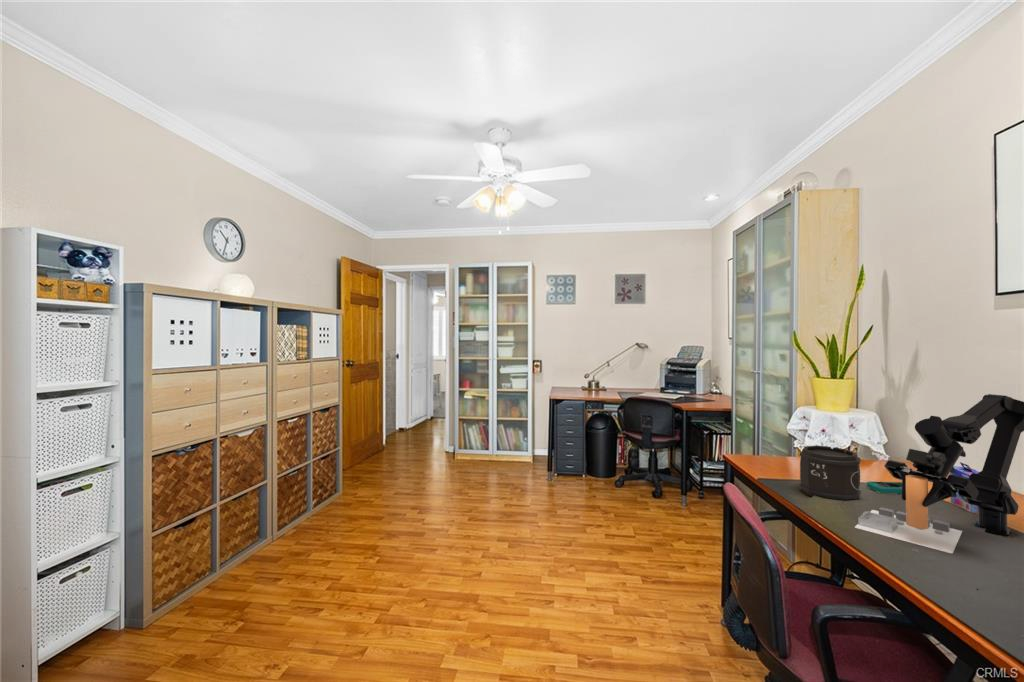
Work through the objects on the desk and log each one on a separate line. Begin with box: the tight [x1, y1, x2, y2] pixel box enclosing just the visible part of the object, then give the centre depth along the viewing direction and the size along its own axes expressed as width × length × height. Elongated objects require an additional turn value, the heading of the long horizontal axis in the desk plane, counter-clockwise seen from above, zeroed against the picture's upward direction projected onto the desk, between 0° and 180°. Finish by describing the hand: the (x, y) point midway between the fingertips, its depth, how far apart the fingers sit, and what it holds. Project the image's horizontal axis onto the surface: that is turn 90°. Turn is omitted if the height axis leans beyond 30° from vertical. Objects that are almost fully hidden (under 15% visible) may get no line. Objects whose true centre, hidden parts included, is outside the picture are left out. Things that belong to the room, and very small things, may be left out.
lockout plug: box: [905, 475, 929, 529], centre depth 117 cm, size 4×4×13 cm
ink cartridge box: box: [949, 461, 980, 514], centre depth 142 cm, size 10×6×14 cm, turn 164°
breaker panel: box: [854, 507, 963, 554], centre depth 124 cm, size 20×20×3 cm
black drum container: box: [799, 445, 862, 501], centre depth 155 cm, size 18×18×16 cm
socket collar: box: [857, 510, 898, 533], centre depth 127 cm, size 8×8×2 cm
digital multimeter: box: [866, 480, 902, 495], centre depth 158 cm, size 7×15×3 cm, turn 83°
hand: (913, 502), depth 117 cm, fingers closed on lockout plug, 4 cm apart
